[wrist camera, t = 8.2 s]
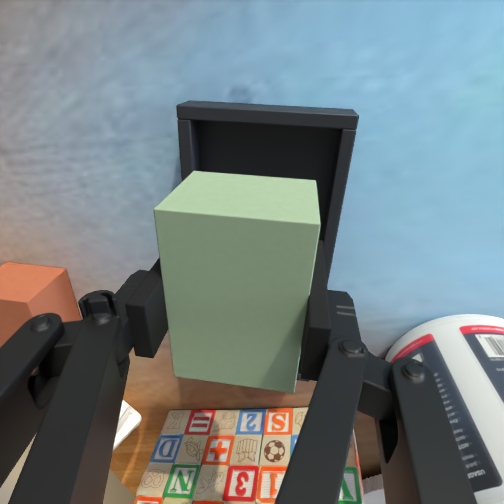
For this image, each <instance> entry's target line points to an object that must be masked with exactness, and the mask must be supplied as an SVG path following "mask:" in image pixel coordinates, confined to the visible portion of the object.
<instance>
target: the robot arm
mask: <svg viewBox="0 0 504 504" xmlns="http://www.w3.org/2000/svg"><path fill="white" fill-rule="evenodd" d="M78 304H79V307H80V310H81V314H82V317H83V320H78V321H69V322H62V319H61V317H60V316H59V315H58V314H55V313H44V314H40V315H37V316H35V317H32V318H30V319H29V320H28V321H26V322H25V323H24V324H23V325H22V326H21V327H20V328H19V329H18V330H17V331H16V332H15V333H14V334H13V335H12V336H11V337H10V338H9V339H8V340H7V341H6V342H5V343H4V344H3V345H2V346H1V347H0V487H1V486H2V484H3V483H4V481H5V480H6V478H7V477H8V475H9V474H10V472H11V471H12V469H13V468H14V466H15V465H16V463H17V462H18V460H19V459H20V457H21V456H22V454H23V452H24V451H25V449H26V448H27V447H28V445H29V443H30V442H31V440H32V439H33V437H34V436H35V434H36V433H37V434H36V436H35V439H34V441H33V444H32V446H31V449H30V451H29V454H28V456H27V458H26V461H25V463H24V466H23V468H22V471H21V473H20V475H19V478H18V480H17V483H16V485H15V488H14V490H13V493H12V495H11V498H10V500H9V503H8V504H103V499H104V493H105V488H106V483H107V478H108V473H109V468H110V463H111V457H112V452H113V447H114V442H115V437H116V432H117V427H118V421H119V416H120V411H121V406H122V401H123V396H124V390H125V385H126V380H127V375H128V370H129V365H130V359H129V353H130V351H131V349H132V348H133V346H134V351H135V355H136V356H140V357H148V358H154V356H155V354H156V352H157V350H158V348H159V346H160V344H161V342H162V340H163V338H164V336H165V334H166V333H167V331H168V329H169V328H168V319H167V311H166V303H165V295H164V287H163V279H162V273H161V265H160V258H159V259H158V260H157V262H156V263H155V264H154V266H153V267H152V268H151V270H150V271H145V270H139V271H137V272H135V273H134V274H132V275H130V277H129V278H128V279H127V280H126V282H125V284H123V285H122V286H121V288H120V289H119V290H118V291H117V292H116V294H114V293H113V292H111V291H108V290H99V291H94V292H91V293H88V294H86V295H85V296H83V297H82V298H81V299H80V300H79V302H78ZM35 369H36V370H35ZM34 370H35V371H34ZM33 371H34V372H33ZM301 379H307V380H314V381H318V382H317V384H316V387H315V390H314V393H313V396H312V398H311V401H310V404H309V407H308V410H307V413H306V415H305V418H304V421H303V424H302V427H301V429H300V432H299V435H298V438H297V441H296V444H295V446H294V449H293V452H292V455H291V458H290V460H289V463H288V466H287V469H286V472H285V475H284V477H283V480H282V483H281V486H280V489H279V491H278V494H277V497H276V500H275V503H274V504H338V501H339V496H340V491H341V486H342V481H343V477H344V472H345V467H346V462H347V457H348V452H349V448H350V443H351V438H352V433H353V428H354V424H355V419H356V414H357V410H358V411H360V412H362V413H365V414H367V415H369V416H371V417H373V418H375V425H376V433H377V440H378V448H379V456H380V463H381V471H382V479H383V487H384V494H385V502H386V504H477V501H476V498H475V495H474V492H473V489H472V486H471V483H470V480H469V477H468V474H467V471H466V468H465V465H464V462H463V459H462V456H461V453H460V451H459V448H458V445H457V442H456V439H455V436H454V433H453V430H452V427H451V424H450V421H449V418H448V415H447V412H446V409H445V406H444V403H443V400H442V398H441V395H440V392H439V389H438V386H437V383H436V380H435V377H434V375H433V373H432V371H431V370H430V369H429V368H428V367H427V366H426V365H425V364H423V363H421V362H420V361H418V360H416V359H412V358H409V357H401V358H398V359H396V360H395V361H394V362H393V363H391V362H388V361H386V360H383V359H380V358H378V357H376V356H374V355H373V354H371V353H370V352H369V351H368V349H367V347H366V346H365V344H364V343H362V341H361V337H360V332H359V328H358V323H357V318H356V313H355V310H354V303H353V299H352V298H351V297H350V296H349V294H348V293H347V292H342V291H333V290H327V280H326V270H325V261H324V251H323V241H321V240H318V245H317V252H316V258H315V264H314V271H313V277H312V283H311V290H310V295H309V298H308V304H307V310H306V317H305V323H304V330H303V336H302V343H301Z"/></svg>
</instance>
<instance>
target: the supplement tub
mask: <svg viewBox="0 0 504 504" xmlns="http://www.w3.org/2000/svg"><path fill="white" fill-rule="evenodd" d="M401 357H409V358H412V359H416V360H418V361H420V362H421V363H423V364H425V365H426V366H427V367H428V368H429V369H430V370H431V371H432V373H433V375H434V377H435V380H436V383H437V386H438V389H439V392H440V395H441V398H442V400H443V403H444V406H445V409H446V412H447V415H448V418H449V421H450V424H451V427H452V430H453V433H454V436H455V439H456V442H457V445H458V448H459V451H460V453H461V456H462V459H463V462H464V465H465V468H466V471H467V474H468V477H469V480H470V483H471V486H472V489H473V492H474V495H475V498H476V501H477V504H504V319H501V318H498V317H493V316H488V315H479V314H461V315H452V316H446V317H441V318H438V319H434V320H431V321H428V322H426V323H423V324H421V325H419V326H417V327H415V328H413V329H412V330H410V331H409V332H407V333H406V334H404V335H403V336H402V337H401V338H400V339H398V340H397V341H396V342H395V343H394V345H393V346H392V347H391V349H390V350H389V352H388V353H387V355H386V358H385V360H386V361H388V362H391V363H393V362H394V361H395V360H396V359H398V358H401Z"/></svg>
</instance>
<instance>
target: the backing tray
mask: <svg viewBox="0 0 504 504" xmlns="http://www.w3.org/2000/svg"><path fill="white" fill-rule="evenodd" d="M176 107H177V118H178V134H179V147H180V160H181V173H182V182H183V181H184V180H185V179H186V178H187V177H188V176H189V175H190V174H191V173H192V172H193V171H201V172H214V173H227V174H240V175H253V176H266V177H279V178H292V179H305V180H315V181H316V185H317V194H318V204H319V213H320V223H321V226H320V233H319V239H318V240H321V241H323V251H324V261H325V270H326V280H327V284H328V278H329V273H330V268H331V263H332V257H333V252H334V247H335V241H336V236H337V231H338V225H339V220H340V215H341V210H342V204H343V199H344V194H345V188H346V183H347V178H348V172H349V167H350V162H351V157H352V151H353V146H354V141H355V135H356V130H355V129H357V124H358V119H359V115H358V114H357V113H356V112H355V111H354V110H353V109H335V108H317V107H298V106H280V105H262V104H243V103H225V102H206V101H187V102H185V103H182V104H178V105H177V106H176ZM296 380H301V381H308V382H309V380H307V379H301V353H300V360H299V366H298V373H297V379H296Z"/></svg>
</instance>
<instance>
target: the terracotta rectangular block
mask: <svg viewBox="0 0 504 504" xmlns="http://www.w3.org/2000/svg"><path fill="white" fill-rule="evenodd" d="M44 313H55V314H58V315H59V316H60V317H61V319H62V322H69V321H78V320H81V317H80V313H79V310H78V307H77V303H76V300H75V297H74V294H73V290H72V287H71V284H70V280H69V277H68V274H67V271H66V269H65V268H56V267H47V266H38V265H29V264H20V263H11V262H6V263H5V264H3V265H2V266H0V347H1V346H2V345H3V344H4V343H5V342H6V341H7V340H8V339H9V338H10V337H11V336H12V335H13V334H14V333H15V332H16V331H17V330H18V329H19V328H20V327H21V326H22V325H23V324H24V323H25V322H26V321H28V320H29V319H30V318H32V317H35V316H37V315H40V314H44ZM35 370H36V369H35ZM35 370H34V371H35ZM34 371H33V372H34Z"/></svg>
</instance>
